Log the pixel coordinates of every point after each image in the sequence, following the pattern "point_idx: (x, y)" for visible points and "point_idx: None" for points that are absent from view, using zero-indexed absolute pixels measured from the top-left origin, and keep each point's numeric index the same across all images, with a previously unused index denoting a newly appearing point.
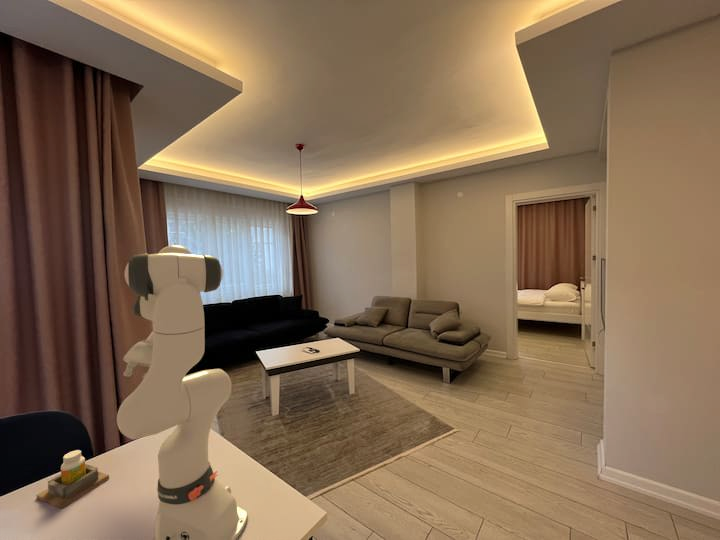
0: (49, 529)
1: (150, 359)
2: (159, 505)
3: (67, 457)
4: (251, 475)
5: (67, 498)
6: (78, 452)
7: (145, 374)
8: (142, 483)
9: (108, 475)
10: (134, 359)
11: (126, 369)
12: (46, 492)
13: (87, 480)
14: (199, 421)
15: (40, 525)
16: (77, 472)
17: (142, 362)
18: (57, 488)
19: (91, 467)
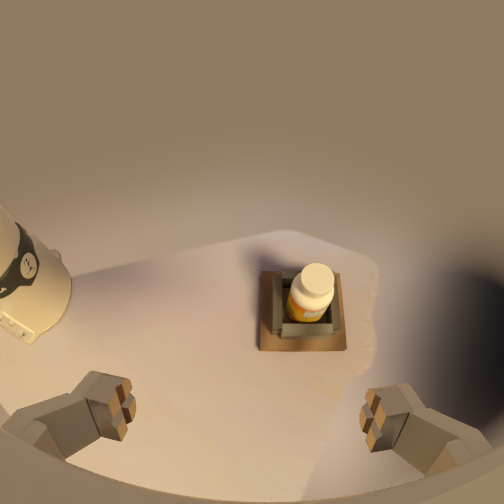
0: (231, 246)
1: (41, 501)
2: (32, 240)
3: (312, 266)
4: (3, 390)
5: (271, 283)
6: (309, 285)
7: (99, 389)
8: (167, 355)
9: (260, 348)
10: (442, 492)
11: (425, 409)
12: None
13: (272, 311)
14: None
15: (255, 246)
16: (289, 293)
17: (204, 499)
18: (295, 271)
19: (297, 328)
